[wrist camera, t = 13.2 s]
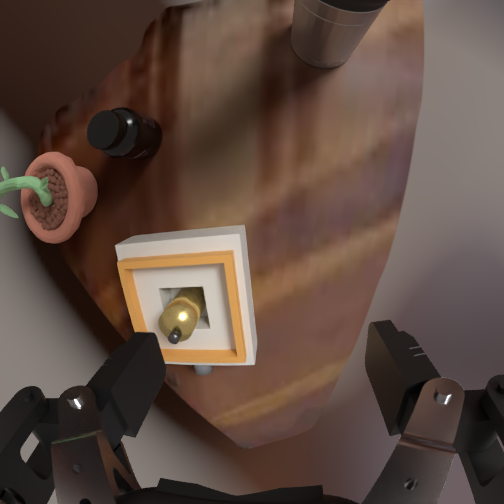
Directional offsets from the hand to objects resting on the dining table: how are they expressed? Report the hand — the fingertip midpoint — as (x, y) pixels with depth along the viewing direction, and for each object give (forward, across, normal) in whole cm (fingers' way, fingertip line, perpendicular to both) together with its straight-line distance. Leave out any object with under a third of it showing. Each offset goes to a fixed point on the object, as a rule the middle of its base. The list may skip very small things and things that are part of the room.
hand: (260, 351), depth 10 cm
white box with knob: (+32, +13, +12) cm, 37 cm away
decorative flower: (+32, +32, -8) cm, 46 cm away
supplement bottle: (+32, +18, -14) cm, 40 cm away
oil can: (+30, +13, +11) cm, 35 cm away
